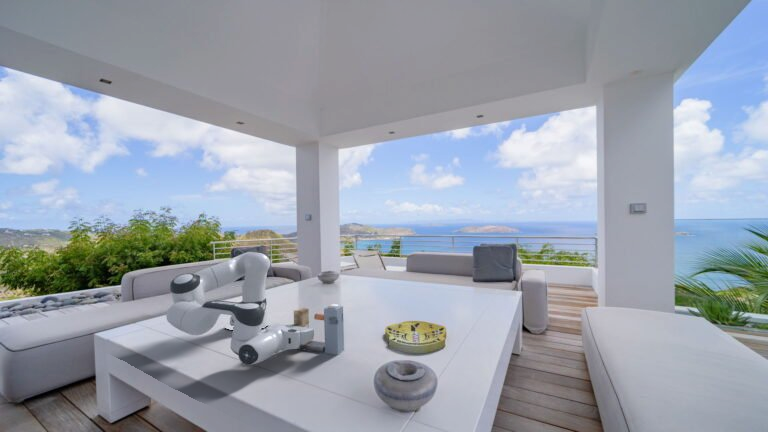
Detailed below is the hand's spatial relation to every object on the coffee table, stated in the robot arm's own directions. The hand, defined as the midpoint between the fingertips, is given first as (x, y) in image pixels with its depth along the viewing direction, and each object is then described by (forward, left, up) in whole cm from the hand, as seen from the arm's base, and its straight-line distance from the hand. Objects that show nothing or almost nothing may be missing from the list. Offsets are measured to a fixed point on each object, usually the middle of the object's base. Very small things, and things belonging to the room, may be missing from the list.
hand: (301, 326), depth 126 cm
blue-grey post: (+16, 0, -9) cm, 18 cm away
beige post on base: (0, 0, -6) cm, 6 cm away
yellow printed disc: (+44, +23, -9) cm, 51 cm away
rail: (0, 0, -9) cm, 9 cm away
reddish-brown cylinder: (+10, 0, +4) cm, 11 cm away
